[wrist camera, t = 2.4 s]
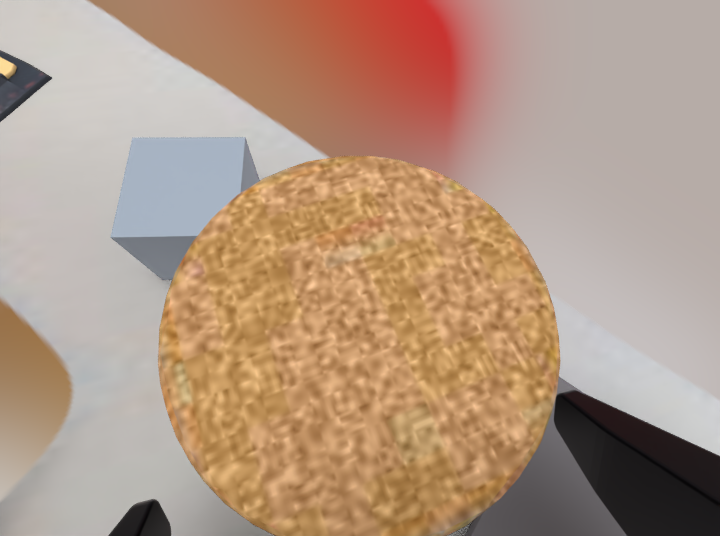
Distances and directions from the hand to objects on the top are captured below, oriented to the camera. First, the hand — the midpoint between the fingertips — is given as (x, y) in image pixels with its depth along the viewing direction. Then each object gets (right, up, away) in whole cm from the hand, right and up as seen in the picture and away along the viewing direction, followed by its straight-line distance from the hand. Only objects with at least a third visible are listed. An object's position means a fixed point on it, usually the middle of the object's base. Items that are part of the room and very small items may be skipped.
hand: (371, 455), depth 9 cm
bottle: (-1, -2, +10) cm, 10 cm away
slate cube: (-8, +6, +13) cm, 16 cm away
